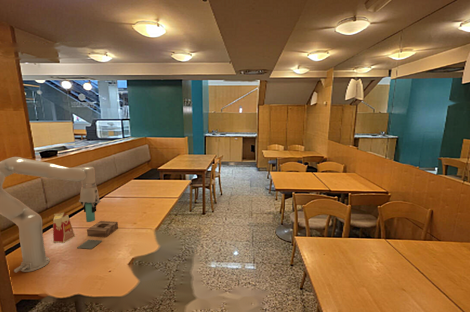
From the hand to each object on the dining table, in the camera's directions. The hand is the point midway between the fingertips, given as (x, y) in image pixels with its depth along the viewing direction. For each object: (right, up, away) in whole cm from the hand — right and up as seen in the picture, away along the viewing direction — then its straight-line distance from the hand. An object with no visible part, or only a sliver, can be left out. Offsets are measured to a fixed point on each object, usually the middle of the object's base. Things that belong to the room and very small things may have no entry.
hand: (90, 211), depth 148 cm
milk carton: (-22, -21, +6) cm, 31 cm away
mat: (0, -22, -1) cm, 22 cm away
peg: (0, -6, +1) cm, 6 cm away
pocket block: (-1, -19, +16) cm, 25 cm away
